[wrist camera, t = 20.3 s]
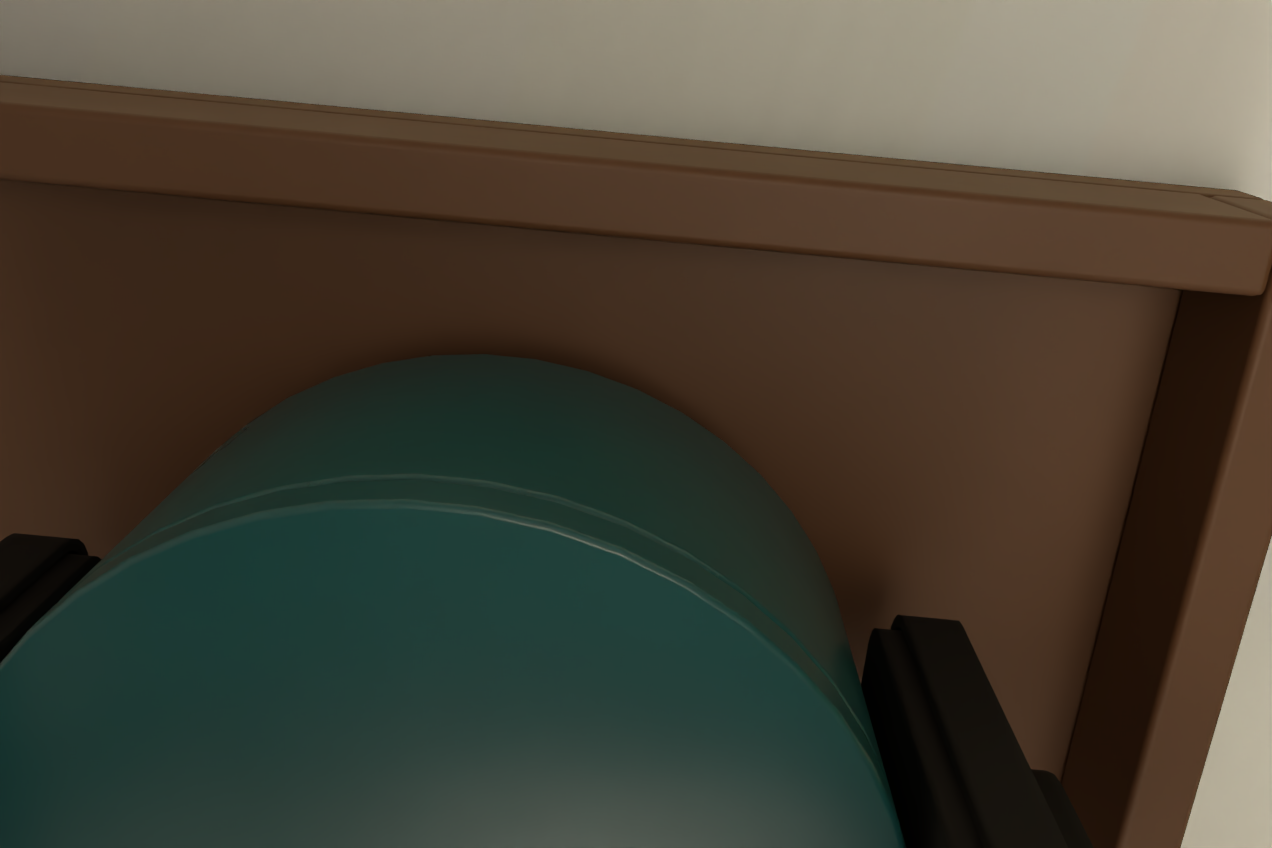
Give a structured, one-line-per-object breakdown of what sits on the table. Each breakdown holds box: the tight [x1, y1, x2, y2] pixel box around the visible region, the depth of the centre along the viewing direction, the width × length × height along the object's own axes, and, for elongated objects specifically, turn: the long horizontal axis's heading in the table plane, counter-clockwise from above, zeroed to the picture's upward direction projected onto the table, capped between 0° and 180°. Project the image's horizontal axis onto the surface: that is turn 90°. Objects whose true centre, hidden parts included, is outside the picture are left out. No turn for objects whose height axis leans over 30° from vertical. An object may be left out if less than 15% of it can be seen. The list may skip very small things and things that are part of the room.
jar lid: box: [0, 354, 907, 848], centre depth 10 cm, size 7×7×3 cm
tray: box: [0, 75, 1272, 848], centre depth 12 cm, size 17×14×2 cm
